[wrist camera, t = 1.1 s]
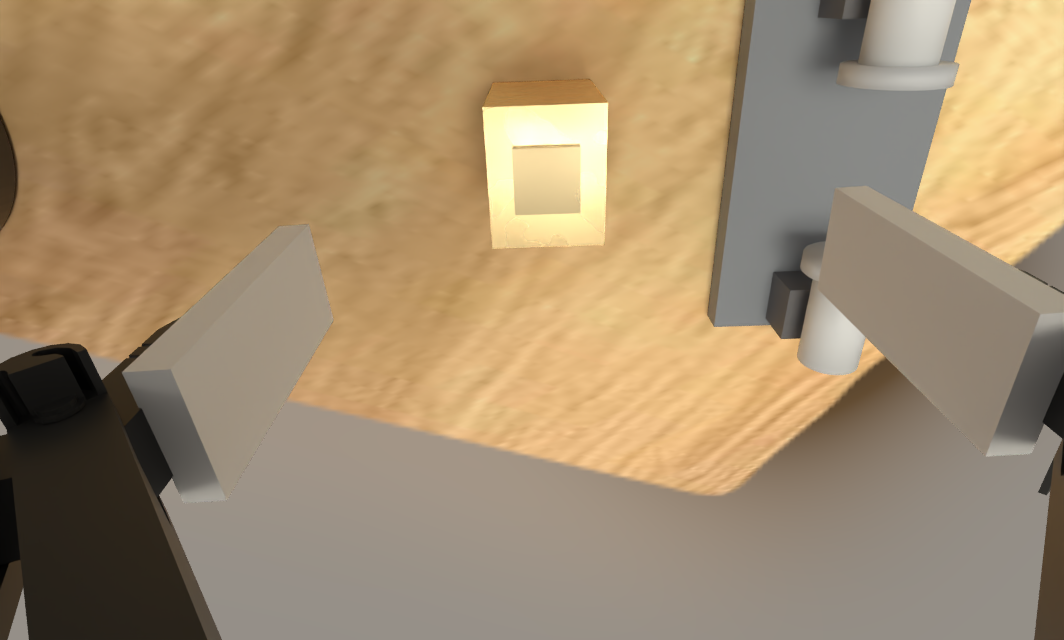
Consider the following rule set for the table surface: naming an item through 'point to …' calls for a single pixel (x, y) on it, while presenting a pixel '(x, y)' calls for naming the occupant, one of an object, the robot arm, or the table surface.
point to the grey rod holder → (822, 150)
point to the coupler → (546, 163)
